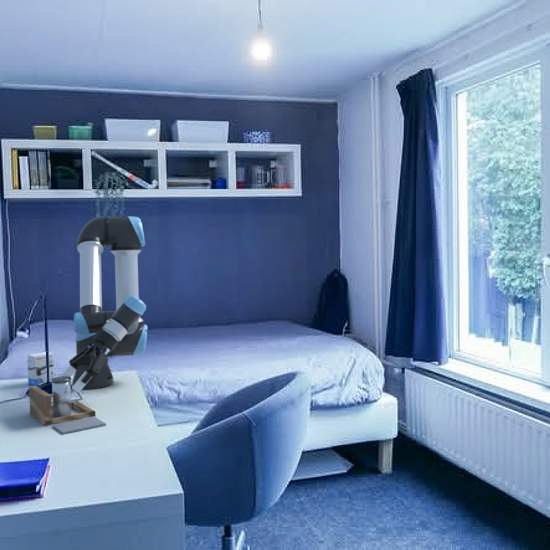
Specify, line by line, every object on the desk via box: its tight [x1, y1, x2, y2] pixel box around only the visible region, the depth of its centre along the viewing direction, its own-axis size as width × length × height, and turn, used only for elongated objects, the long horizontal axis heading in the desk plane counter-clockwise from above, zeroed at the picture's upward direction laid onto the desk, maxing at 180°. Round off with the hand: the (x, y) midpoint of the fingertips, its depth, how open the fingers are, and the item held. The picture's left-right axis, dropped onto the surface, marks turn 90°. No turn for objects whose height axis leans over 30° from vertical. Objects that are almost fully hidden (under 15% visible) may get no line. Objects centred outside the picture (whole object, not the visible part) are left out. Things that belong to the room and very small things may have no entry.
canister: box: [51, 375, 73, 418], centre depth 197 cm, size 6×6×12 cm
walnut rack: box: [28, 385, 96, 427], centre depth 197 cm, size 16×16×9 cm
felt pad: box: [52, 416, 107, 435], centre depth 185 cm, size 13×9×1 cm
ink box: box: [27, 351, 55, 386], centre depth 239 cm, size 8×5×12 cm, turn 143°
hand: (67, 386), depth 197 cm, fingers open, 13 cm apart
